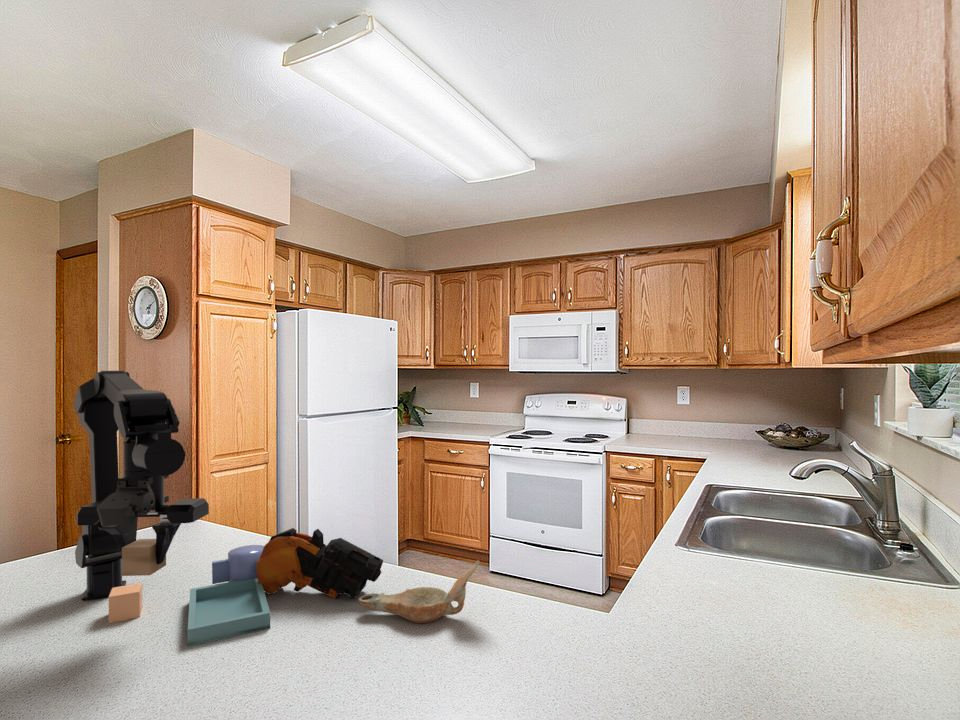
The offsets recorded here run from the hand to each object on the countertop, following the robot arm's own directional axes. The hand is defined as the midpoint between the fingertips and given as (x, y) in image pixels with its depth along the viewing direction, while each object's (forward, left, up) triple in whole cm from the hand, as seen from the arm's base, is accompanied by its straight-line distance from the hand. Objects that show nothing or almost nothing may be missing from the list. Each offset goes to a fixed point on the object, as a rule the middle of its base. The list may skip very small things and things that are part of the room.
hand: (145, 563), depth 90 cm
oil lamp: (+17, +41, -11) cm, 46 cm away
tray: (0, +12, -11) cm, 17 cm away
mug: (-12, +15, -11) cm, 22 cm away
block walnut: (0, 0, -1) cm, 1 cm away
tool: (-1, +28, -11) cm, 30 cm away
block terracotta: (-9, -4, -11) cm, 15 cm away
